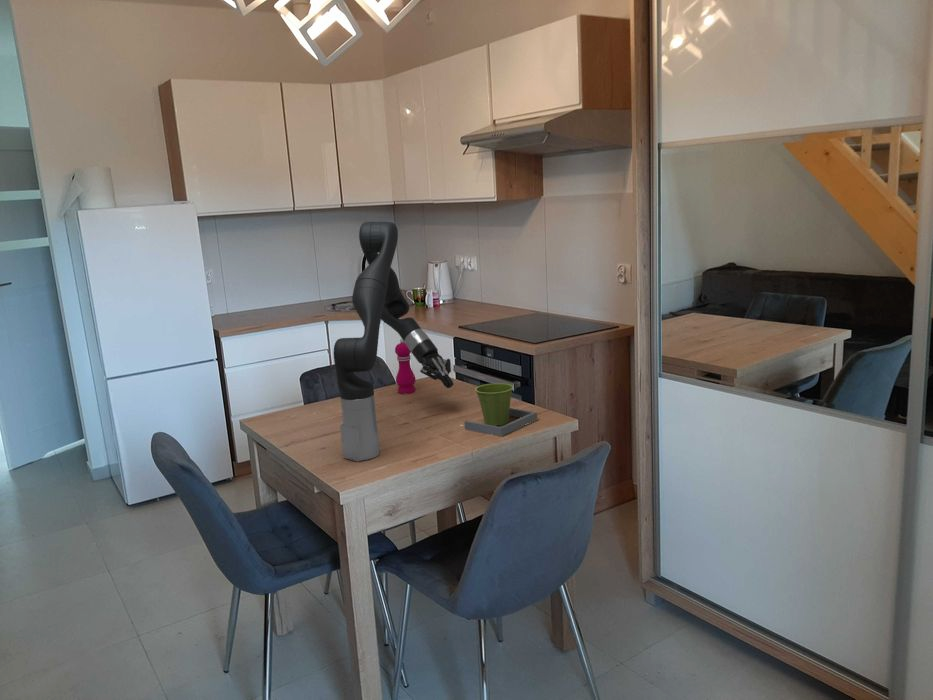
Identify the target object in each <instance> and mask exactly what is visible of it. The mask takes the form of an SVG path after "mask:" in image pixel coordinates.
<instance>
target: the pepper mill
mask: <svg viewBox="0 0 933 700" xmlns="http://www.w3.org/2000/svg"><path fill="white" fill-rule="evenodd" d="M399 342H400V343H398V344H396V346H395V347H394V353H395V354H396V358H397V359H396V360H397V361H398V370H397V371H398V372H397V373H396V377H395V383H396V385H397V386H398V387H397V393H398V392H399V393H398V394H400V393H409V394H413V393H415V392H416V386H415V383H416V381H417V380H416V376H415V373H414V371H413V370H412V367H411V363H410V362H411V360H412V358H411V356H412V355H410V354H412V353H411V351H410V350H409V348H408V347H407V345H406V343H405V342H404V340H403V339H402V338H401V339H400V340H399ZM414 391H415V392H414ZM412 392H413V393H412Z"/></svg>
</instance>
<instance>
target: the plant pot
mask: <svg viewBox="0 0 933 700" xmlns="http://www.w3.org/2000/svg"><path fill="white" fill-rule="evenodd" d="M514 388H515V386H514V385H513V384H509V383H501V382H500V383H499V382H498V383H486V384H481V385H478V386H477V387H475V388H474V391H475V392H476V394H477V397H478V398H477V399H478V400H479V404H480V409H481V412H482V415H483V417H482V418H483V421H484V424H487V425H493V426H504V425H506V424H508V423H509V417H510V416H509V409H510V408H511V398H512V393H513V390H514Z"/></svg>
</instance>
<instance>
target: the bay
mask: <svg viewBox="0 0 933 700" xmlns="http://www.w3.org/2000/svg"><path fill="white" fill-rule="evenodd" d="M510 416H514V417H513V418H516V417H521V418H516V420H514V421H511V422H508V423H507V424H505V425H501V426H499V425H496V426H493V425H487V424H485V423H481V422H477V421H472V420H471V421H470V420H464V422H463V423H464V430H466V431H467V430H468V431H471V430H472V432H477V433H481V432H482V434H487V435H491V434H493V435H492V436H495V435H498V436H497V437H500V436H502V437H504V436H506V435H508V434H507V433H509V432H511V433H513V432H515V431H517V430H519V429H521V428H523V427H522V426H523V425H525V424H527V423H530V422H532V421H534V420H536V419H537V420H538V412H537V411H532V410H524V409H518V408H513V407H510V409H509V417H510ZM534 422H535V421H534ZM532 423H533V422H532ZM530 424H531V423H530ZM520 427H521V428H520ZM518 428H519V429H518ZM516 429H517V430H516ZM514 430H515V431H514ZM512 431H513V432H512ZM505 434H506V435H505ZM509 434H510V433H509ZM503 435H504V436H503Z"/></svg>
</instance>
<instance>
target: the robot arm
mask: <svg viewBox="0 0 933 700" xmlns="http://www.w3.org/2000/svg"><path fill="white" fill-rule="evenodd" d="M358 236H359V237H358V239H359V244H360V248H361V250H362V253H363V255H364V258H365V260H366V261H367V264H368V265H367V266H366V267H365V268H364V269H363V270H362V271H361V272H360V273H359V275H358V276H357V277H356V280H355V283H354V285H353V286H354V287H353V291H352V292H353V293H352V296H351V297H352V298H351V300H352V305H353V307H354V309H355V311H356V313H357V315H358V317H359V318H360V320H361V322H362V325H363V326H364V329H363V330H364V332H363V336H361V337H340V338H338V339H337V340H335V343H334V345H333V362H334V368H335V369H334V370H335V374H336V380H337V383H336V384H337V387H338V391H339V398H340V406H341V407H340V408H341V409H342V413H341V419H342V424H340V426H339V429H340V437H341V438H340V439H341V446H342V447H341V448H342V457H343V459H346V460H350V461H354V462H358V463H359V462H362V461H367V460H371V459H374V458H376V457H378V456H379V455H380V443H379V434H378V433H379V432H378V431H379V430H378V421H377V411H376V410H377V409H376V400H375V399H376V398H375V390H374V389H375V388H374V385H373V383H372V382H370V381H368V380H364V379H363V378H360V377H359V376H357V375H356V374H355V372H359V373H360V372H363V373H364V372H371V371H372V370H373V369H374V368H375V364H376V362H377V356H378V349H379V348H378V347H379V337H380V328H381V321H382V322H384V323H385V324H386V325H388V326H389V327H391V329H393V330H394V331H395V332H397V333H396V334H398V335H399V337H401V339H403V340H404V342H405V343H406V345H407V347H408V348H409V350H410V351H411V353H410V354H411V355H413V357H414V358H415V359H416V361H417V362H418V363H419V364H421V366H422V368H421V369H420V373H422V374H423V375H425V376H427V377H429V378H430V379H433V380H435V381H436V380H439V381H441V383H442V384H443V385H444V387H445V388H447V389H451V388H452V387H454V381H453V380H452V378H451V377H450V376H449V375H450V373H451V372H452V367H451V366H452V365H451V362H452V361H451V359H450V358H447V359H445V358H443V357H442V356H441V355H440V354H439V350H438V348H437V346H436V345H435V343H434V342H433V341H432V339H430V337H429V336H428V334H427V333H426V332H425V331H424V330H423V328H421V326H420V325H419V324H418V322H417V321H416V320H415V319H414V318H413V317H409V316H408V317H405V318H402V317H404V316H406V315H407V314H408V313H409V311H410V305H409V302H408V300H407V299H406V298H405V296H404V294H403V292H402V291H401V288H400V284H399V278H398V275H397V274H396V272H395V270H394V269H393V268H392V263H393V260H394V257H395V252H396V250H397V245H398V241H399V240H398V239H399V230H398V227H397V225H396V224H395V223H394V222H390V221H364V222H363V223H362V224H361V225H360V228H359V232H358ZM400 318H401V319H400Z"/></svg>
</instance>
